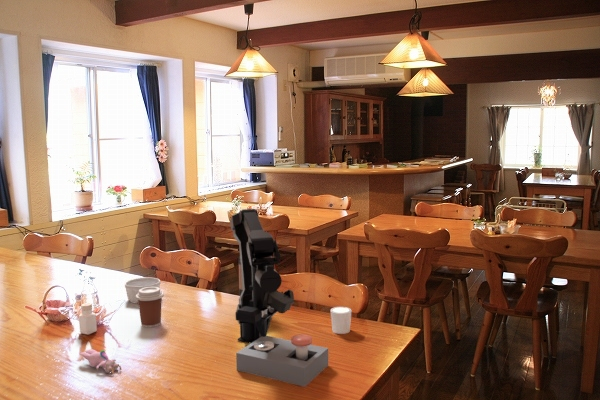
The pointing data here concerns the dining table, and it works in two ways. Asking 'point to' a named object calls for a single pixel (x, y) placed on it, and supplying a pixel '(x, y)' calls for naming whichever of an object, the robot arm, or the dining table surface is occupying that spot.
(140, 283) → the ramekin
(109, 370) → the rabbit figure
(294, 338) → the red button
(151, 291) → the coffee cup
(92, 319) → the pepper shaker
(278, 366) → the console
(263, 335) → the robot arm
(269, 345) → the metal button
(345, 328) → the white cup
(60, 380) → the dining table surface
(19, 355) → the dining table surface
